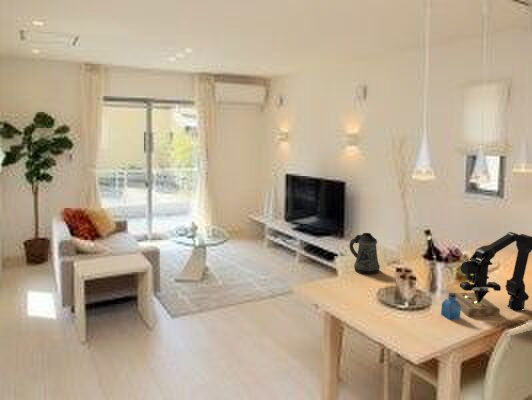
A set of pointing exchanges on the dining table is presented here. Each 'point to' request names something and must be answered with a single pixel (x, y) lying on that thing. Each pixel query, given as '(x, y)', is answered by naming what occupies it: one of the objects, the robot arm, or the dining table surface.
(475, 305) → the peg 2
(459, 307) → the perfume bottle
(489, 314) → the socket board
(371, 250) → the beer stein
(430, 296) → the dining table surface
